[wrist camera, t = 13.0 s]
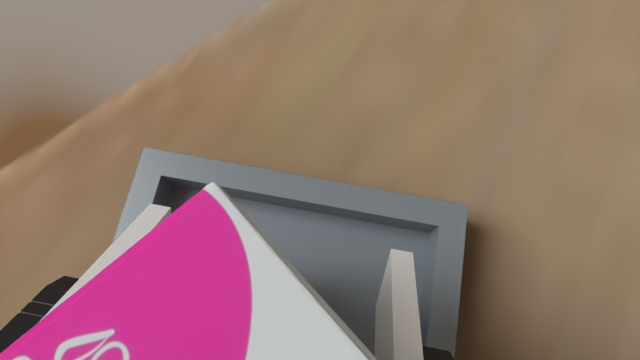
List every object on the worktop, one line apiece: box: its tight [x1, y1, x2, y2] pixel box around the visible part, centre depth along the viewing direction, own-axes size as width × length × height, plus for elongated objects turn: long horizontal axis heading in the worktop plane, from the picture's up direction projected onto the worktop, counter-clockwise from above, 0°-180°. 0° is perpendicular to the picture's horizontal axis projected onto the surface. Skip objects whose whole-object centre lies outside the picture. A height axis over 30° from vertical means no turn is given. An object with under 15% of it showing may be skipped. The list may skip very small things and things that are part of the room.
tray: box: [112, 147, 468, 359], centre depth 19 cm, size 15×15×2 cm
